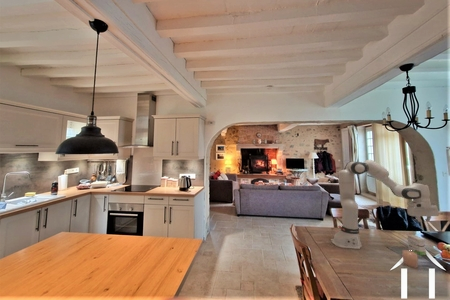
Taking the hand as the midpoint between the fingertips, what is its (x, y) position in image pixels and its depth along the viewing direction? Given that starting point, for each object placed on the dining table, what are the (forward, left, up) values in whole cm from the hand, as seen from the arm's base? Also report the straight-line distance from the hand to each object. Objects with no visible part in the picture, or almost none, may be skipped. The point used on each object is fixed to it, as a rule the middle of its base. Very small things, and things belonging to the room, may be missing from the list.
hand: (423, 221), depth 136 cm
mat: (-16, 0, -23) cm, 28 cm away
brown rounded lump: (-27, -16, -23) cm, 39 cm away
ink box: (-7, 0, -23) cm, 24 cm away
